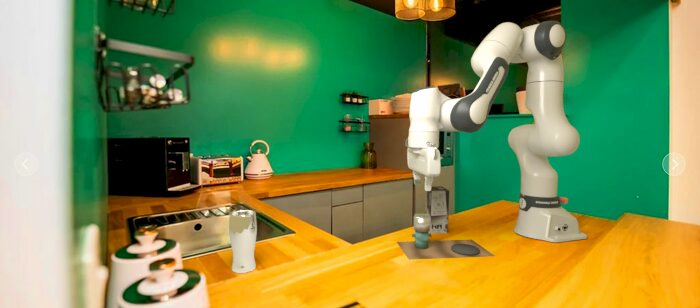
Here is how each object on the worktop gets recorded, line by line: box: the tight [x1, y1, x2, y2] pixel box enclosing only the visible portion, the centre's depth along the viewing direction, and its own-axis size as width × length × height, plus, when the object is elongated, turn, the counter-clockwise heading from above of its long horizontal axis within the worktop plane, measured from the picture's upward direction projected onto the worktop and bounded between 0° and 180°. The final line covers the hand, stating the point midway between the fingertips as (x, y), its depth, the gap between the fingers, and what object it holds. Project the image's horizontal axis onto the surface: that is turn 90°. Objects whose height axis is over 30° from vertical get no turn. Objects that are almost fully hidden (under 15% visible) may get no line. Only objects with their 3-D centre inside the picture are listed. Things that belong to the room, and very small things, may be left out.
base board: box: [396, 230, 495, 260], centre depth 97 cm, size 25×14×7 cm, turn 96°
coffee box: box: [424, 185, 450, 234], centre depth 116 cm, size 9×6×16 cm
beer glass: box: [228, 209, 258, 274], centre depth 86 cm, size 7×7×15 cm
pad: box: [451, 244, 480, 256], centre depth 96 cm, size 8×8×1 cm
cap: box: [413, 213, 431, 233], centre depth 98 cm, size 5×5×5 cm
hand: (422, 187), depth 98 cm, fingers open, 8 cm apart
